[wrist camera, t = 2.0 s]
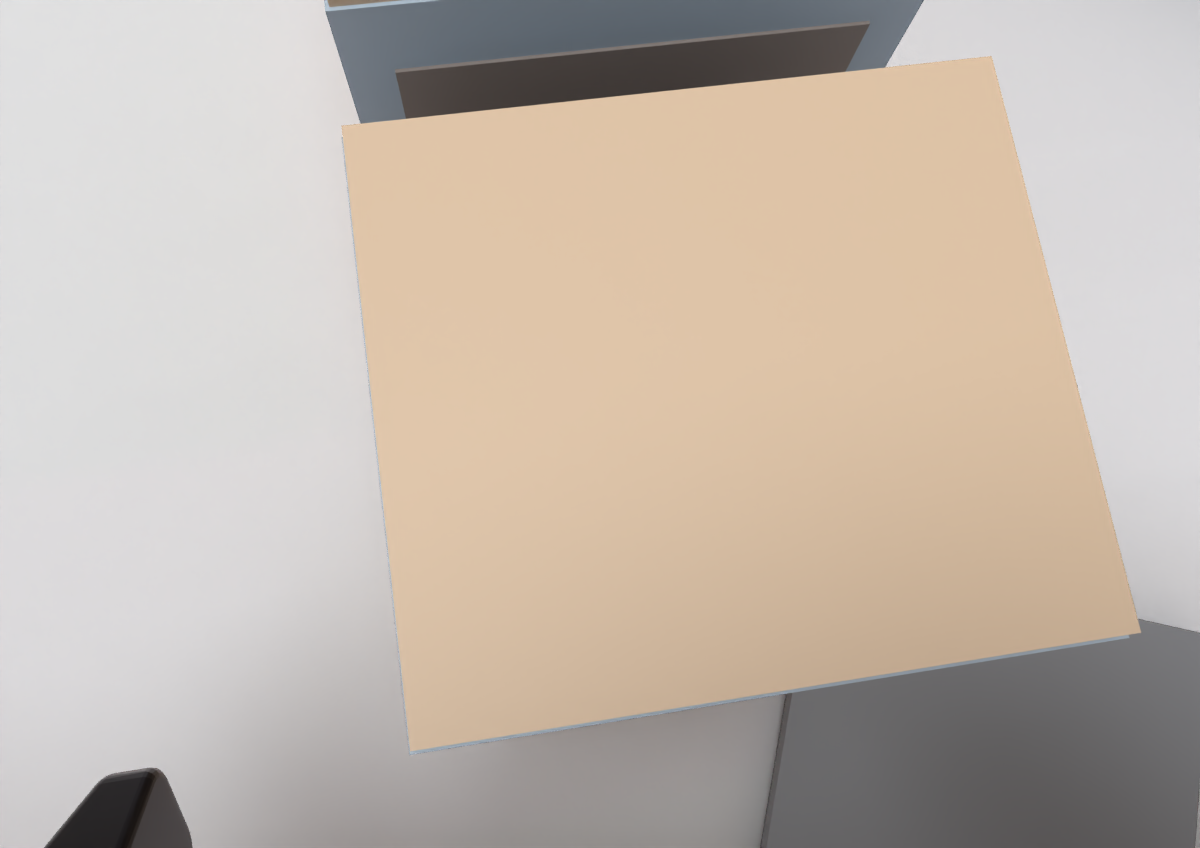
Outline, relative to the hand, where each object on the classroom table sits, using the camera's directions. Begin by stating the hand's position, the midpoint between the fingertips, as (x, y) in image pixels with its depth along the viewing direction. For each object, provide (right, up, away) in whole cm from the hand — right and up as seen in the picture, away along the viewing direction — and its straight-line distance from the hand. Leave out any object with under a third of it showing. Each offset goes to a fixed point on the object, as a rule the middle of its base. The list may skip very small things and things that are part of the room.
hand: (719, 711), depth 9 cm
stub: (-1, 0, +10) cm, 10 cm away
